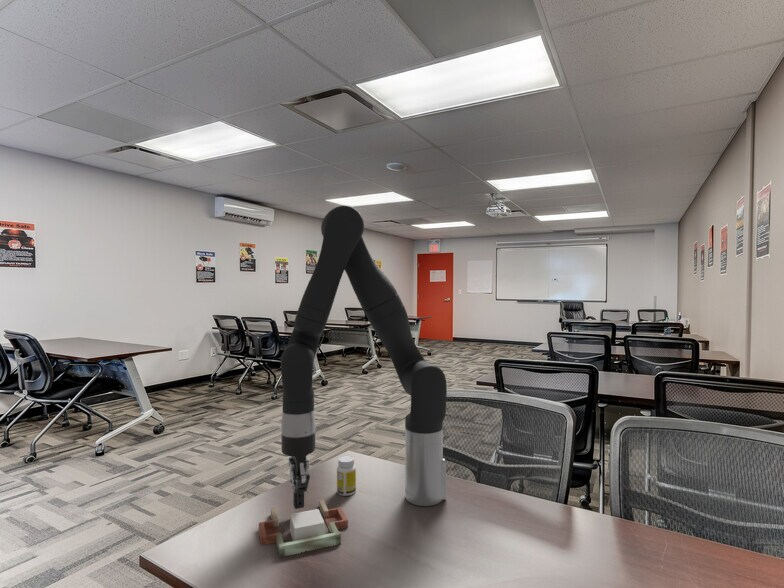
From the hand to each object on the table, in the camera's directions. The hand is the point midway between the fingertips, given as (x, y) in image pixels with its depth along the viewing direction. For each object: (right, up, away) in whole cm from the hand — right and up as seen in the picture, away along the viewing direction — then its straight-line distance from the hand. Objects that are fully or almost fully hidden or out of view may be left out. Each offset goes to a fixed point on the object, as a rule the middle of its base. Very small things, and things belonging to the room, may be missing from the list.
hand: (298, 506), depth 97 cm
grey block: (+4, -2, -8) cm, 9 cm away
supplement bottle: (+10, -2, +11) cm, 15 cm away
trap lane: (+2, -2, -5) cm, 6 cm away
